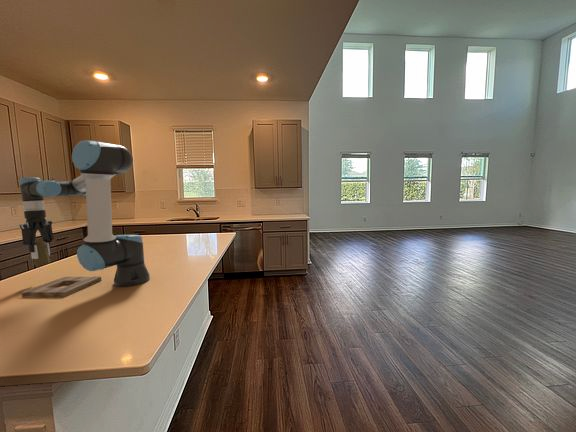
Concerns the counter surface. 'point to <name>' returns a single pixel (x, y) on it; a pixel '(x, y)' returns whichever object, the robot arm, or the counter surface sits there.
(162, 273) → the counter surface
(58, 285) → the walnut board
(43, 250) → the olive tapered block
